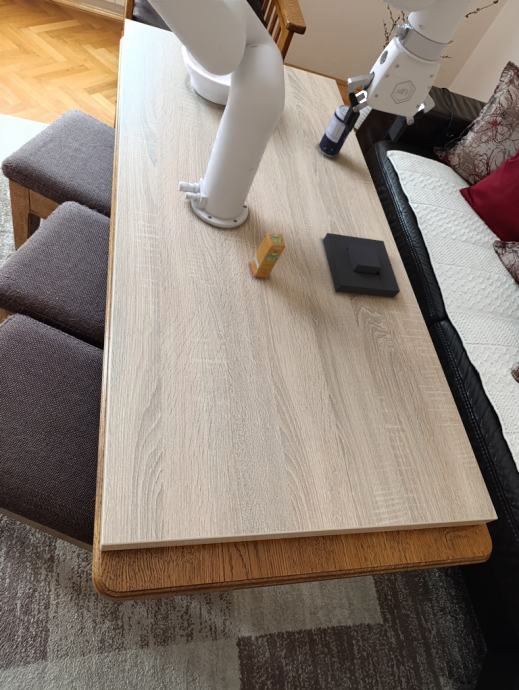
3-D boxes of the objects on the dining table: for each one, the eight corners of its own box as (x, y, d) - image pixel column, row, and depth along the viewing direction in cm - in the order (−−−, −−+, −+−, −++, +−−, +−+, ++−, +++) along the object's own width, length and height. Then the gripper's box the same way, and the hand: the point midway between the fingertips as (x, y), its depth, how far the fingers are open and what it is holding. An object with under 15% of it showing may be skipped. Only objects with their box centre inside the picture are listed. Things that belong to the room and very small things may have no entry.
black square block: (348, 277, 110) (357, 264, 106) (342, 257, 113) (351, 243, 109) (371, 280, 112) (381, 267, 108) (365, 260, 115) (374, 247, 111)
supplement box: (254, 278, 101) (270, 245, 93) (250, 265, 103) (265, 231, 95) (269, 278, 102) (286, 245, 94) (264, 265, 104) (281, 231, 96)
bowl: (210, 123, 123) (218, 93, 116) (159, 71, 128) (164, 38, 121) (269, 108, 135) (280, 80, 128) (221, 60, 139) (229, 31, 133)
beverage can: (337, 161, 132) (359, 121, 122) (318, 154, 131) (338, 114, 121) (336, 147, 135) (357, 108, 125) (317, 141, 134) (336, 100, 124)
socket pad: (335, 292, 106) (340, 285, 104) (322, 240, 114) (327, 232, 112) (394, 298, 111) (400, 291, 109) (378, 248, 119) (383, 240, 117)
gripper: (381, 40, 75) (332, 136, 89) (473, 67, 81) (414, 154, 94) (369, 13, 79) (324, 110, 92) (458, 41, 85) (403, 128, 98)
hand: (369, 132), depth 93 cm, fingers open, 9 cm apart
